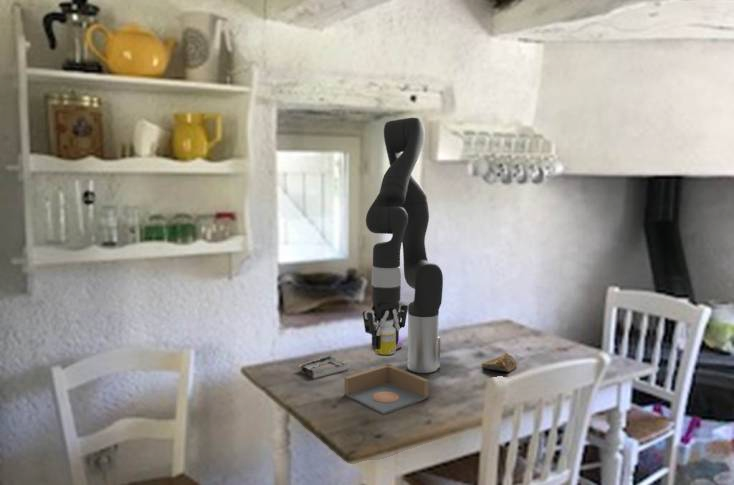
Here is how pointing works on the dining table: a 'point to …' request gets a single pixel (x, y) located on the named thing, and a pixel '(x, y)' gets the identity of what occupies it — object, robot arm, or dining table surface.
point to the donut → (399, 342)
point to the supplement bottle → (387, 341)
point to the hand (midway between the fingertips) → (385, 346)
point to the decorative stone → (501, 363)
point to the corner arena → (386, 388)
